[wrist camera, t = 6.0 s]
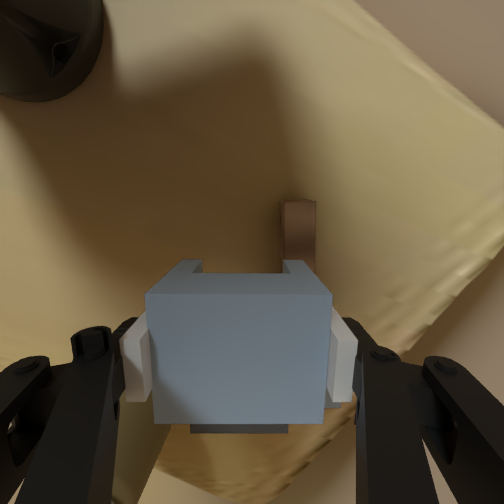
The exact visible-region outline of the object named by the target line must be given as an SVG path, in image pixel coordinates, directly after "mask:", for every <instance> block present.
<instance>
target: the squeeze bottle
mask: <svg viewBox="0 0 504 504" xmlns="http://www.w3.org/2000/svg"><path fill="white" fill-rule="evenodd" d="M119 401H120V416H119V426H118V437H117V447H116V457H115V467H114V478H113V488H112V498H111V504H137V503H138V501H139V499H140V497H141V494H142V492H143V489H144V487H145V485H146V483H147V481H148V478H149V476H150V474H151V471H152V469H153V467H154V465H155V462H156V460H157V458H158V455H159V453H160V451H161V449H162V446H163V444H164V442H165V439H166V437H167V435H168V433H169V430H170V428H171V424H154V411H153V398H152V390H151V392H150V394H149V396H148V398H147V400H146V402H126V396H125V390H124V392H123V393H122V395H121V396H120V398H119Z"/></svg>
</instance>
